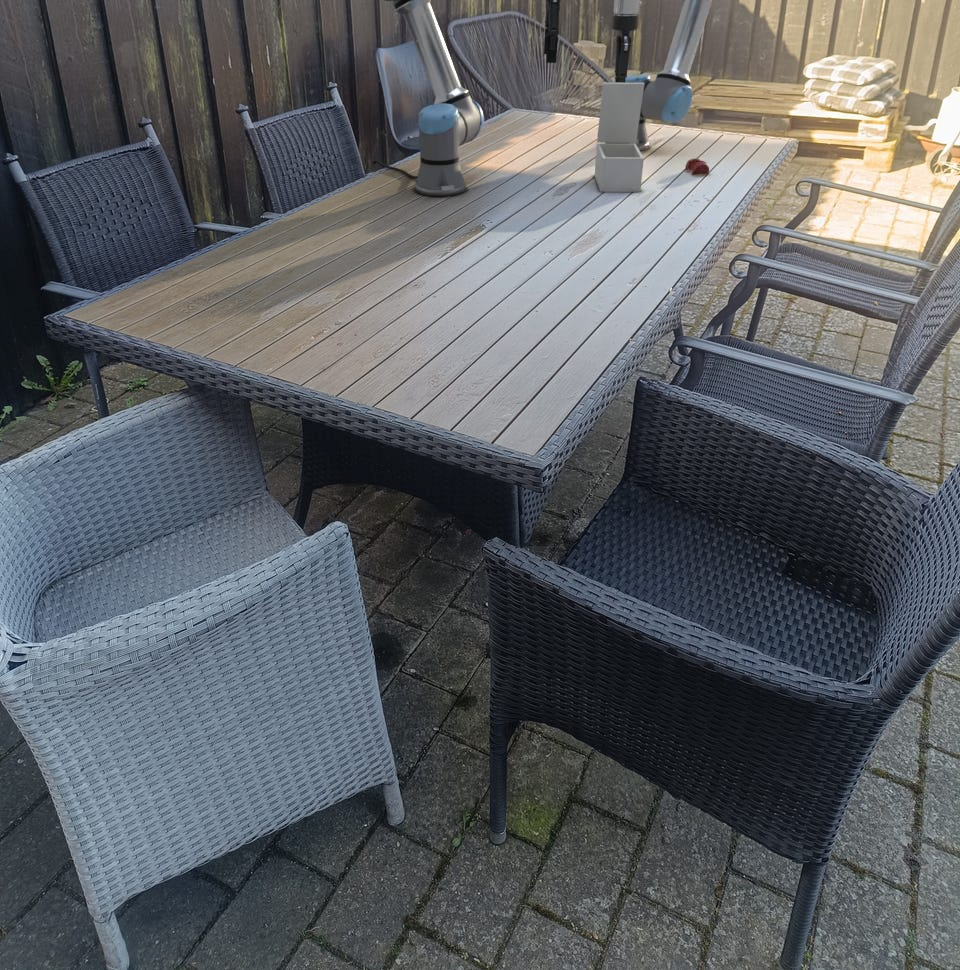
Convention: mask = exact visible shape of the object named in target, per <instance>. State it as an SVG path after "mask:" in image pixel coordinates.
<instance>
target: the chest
mask: <svg viewBox="0 0 960 970" xmlns="http://www.w3.org/2000/svg"><path fill="white" fill-rule="evenodd" d="M644 161H645V158H644V156H643V155H642V151H639V149H638V147H637V145H636V144H605V143H596V151H595V164H594V178H595V181H596V183H597V186H598V190H599V192H601V193H602V192H604V193H610V192H611V193H612V192H613V193H618V192H619V193H640V192H641V187H642V180H643V179H642V178H643V170H644Z"/></svg>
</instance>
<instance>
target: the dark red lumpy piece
mask: <svg viewBox="0 0 960 970" xmlns="http://www.w3.org/2000/svg"><path fill="white" fill-rule="evenodd" d="M684 171H691V174H692V175H693V176H695V175H696V176H699V175H708V174H709V173H710V167H709V165H708V163H707V162H706V161H705V160H701V159H700V158H697V157H695V158H690V159H689V160H688V161H687V162H686V164H685V169H684Z"/></svg>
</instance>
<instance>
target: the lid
mask: <svg viewBox="0 0 960 970" xmlns="http://www.w3.org/2000/svg"><path fill="white" fill-rule="evenodd" d="M601 89H602V90H601V100H600V109H599V117H598V126H597V127H598V128H597V138H596V144H605V143H636V140H637V132H638V125H639V118H640V111H641V104H642V97H643V90H644V83H629V82H625V83H616V82H615V81H610V82H603V83H602V88H601Z"/></svg>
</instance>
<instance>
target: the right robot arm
mask: <svg viewBox="0 0 960 970" xmlns="http://www.w3.org/2000/svg"><path fill="white" fill-rule="evenodd" d="M712 2H713V0H684V1H683V5H682V7H681V12H680V15H679V18H678V21H677V25H676V28H675V31H674V33H673V38H672V40H671V44H670V47H669V50H668V54H667V56H666V60H665V64H664V67H663V69H662V70H661V71H659V72H657V75H656V77H655V80H654V81H653V80H651V75H650V74H631V75H628V69H629V60H630V52H631V47H632V37H631V35H630V34H631V33H630V32H632V31H633V32H634V31H636V30H638V27H639V15H638V14H639V13H640V6H642V5H643V2H642V1H641V0H613V8H612V9H613V10H612V13H613V14H614V15H613V16H612V22H611V23H612V24H611V28H612V30H613V31H618V35H617V36H616V50H615V65H614V66H615V67H614V75H615V76H614V82H616V83H625V82H629V83H644V90H643V97H642V104H641V111H640V118H639V125H638V132H637V140H636V143H604V144H636V145H637V147H638V149H639V151H640V152H642V151H645V150H647V149H648V148H649V143H650V141H649V136H648V131H647V125H646V121H647V119H648V120H654V121H660V122H664V123H673V124H674V123H679V122H681V121H682V120H683V119H684V118H685V117H686V116H687V115H688V112H689V111H690V109H691V106H692V104H693V96H694V91H693V88H692V87H691V84H692V81H691V79H690V77H689V75H690V72H691V69H692V65H693V63H694V59H695V57H696V53H697V50H698V47H699V44H700V41H701V37H702V34H703V31H704V28H705V25H706V22H707V18H708V16H709V12H710V8H711V6H712Z"/></svg>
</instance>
